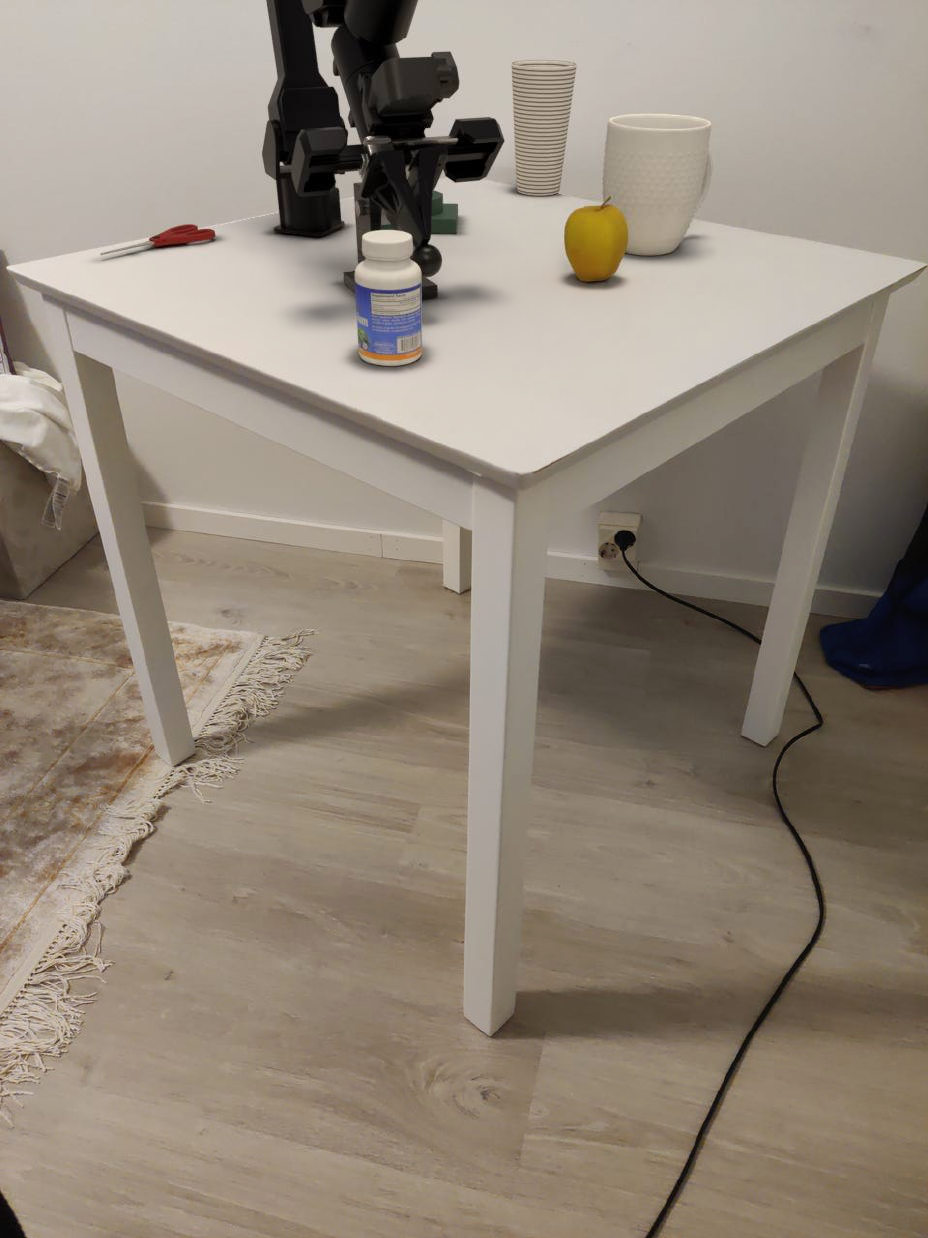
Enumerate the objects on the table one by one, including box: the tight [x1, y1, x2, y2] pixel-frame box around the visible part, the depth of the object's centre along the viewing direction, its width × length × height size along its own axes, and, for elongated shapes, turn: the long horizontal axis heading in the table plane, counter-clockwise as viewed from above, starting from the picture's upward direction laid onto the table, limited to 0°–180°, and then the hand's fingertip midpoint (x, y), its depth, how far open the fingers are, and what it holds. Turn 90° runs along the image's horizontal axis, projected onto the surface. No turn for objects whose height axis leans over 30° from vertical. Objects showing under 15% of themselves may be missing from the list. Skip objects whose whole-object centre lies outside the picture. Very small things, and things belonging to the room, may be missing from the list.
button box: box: [380, 189, 459, 235], centre depth 116 cm, size 10×8×4 cm
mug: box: [602, 113, 713, 257], centre depth 106 cm, size 15×11×13 cm
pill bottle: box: [354, 230, 423, 367], centre depth 78 cm, size 5×5×10 cm
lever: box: [380, 207, 443, 278], centre depth 88 cm, size 13×3×3 cm, turn 25°
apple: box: [563, 196, 628, 282], centre depth 96 cm, size 6×6×8 cm
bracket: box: [342, 181, 439, 300], centre depth 92 cm, size 8×7×10 cm
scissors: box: [99, 223, 216, 256], centre depth 108 cm, size 5×14×1 cm, turn 140°
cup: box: [511, 59, 578, 197], centre depth 128 cm, size 8×8×16 cm
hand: (425, 241), depth 84 cm, fingers closed, pressing on lever
